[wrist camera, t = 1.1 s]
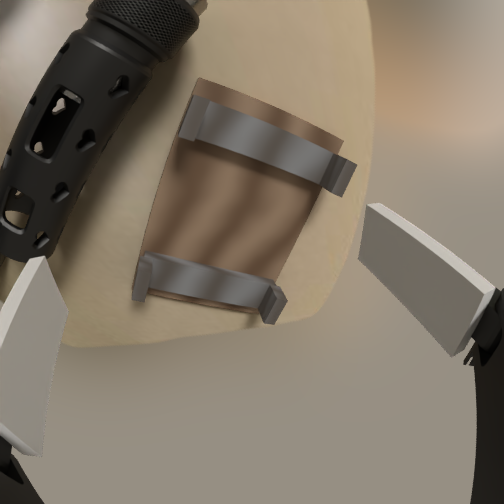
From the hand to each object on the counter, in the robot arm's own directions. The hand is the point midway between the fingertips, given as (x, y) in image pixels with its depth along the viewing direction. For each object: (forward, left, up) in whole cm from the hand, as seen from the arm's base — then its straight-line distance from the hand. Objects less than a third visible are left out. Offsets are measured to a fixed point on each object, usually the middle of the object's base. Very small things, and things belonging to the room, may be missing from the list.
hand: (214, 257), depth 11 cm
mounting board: (+7, -5, -23) cm, 24 cm away
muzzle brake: (-12, +2, -23) cm, 26 cm away
